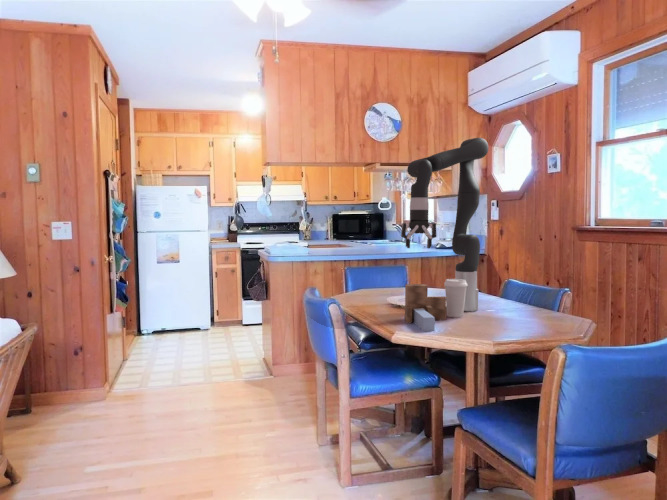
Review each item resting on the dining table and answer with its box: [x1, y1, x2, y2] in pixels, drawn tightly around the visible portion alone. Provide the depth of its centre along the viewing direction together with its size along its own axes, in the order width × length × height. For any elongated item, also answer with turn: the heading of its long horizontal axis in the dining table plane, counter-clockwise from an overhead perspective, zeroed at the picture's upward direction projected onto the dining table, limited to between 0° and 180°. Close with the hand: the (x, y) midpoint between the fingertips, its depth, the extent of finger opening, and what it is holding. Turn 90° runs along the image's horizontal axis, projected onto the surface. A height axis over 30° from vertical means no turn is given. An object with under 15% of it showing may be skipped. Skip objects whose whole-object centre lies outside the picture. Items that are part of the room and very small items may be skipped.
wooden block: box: [404, 283, 447, 324], centre depth 197 cm, size 17×8×14 cm, turn 95°
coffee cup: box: [443, 278, 468, 319], centre depth 206 cm, size 10×10×15 cm
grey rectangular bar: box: [412, 308, 436, 332], centre depth 188 cm, size 16×4×5 cm, turn 5°
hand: (418, 248), depth 206 cm, fingers open, 8 cm apart
